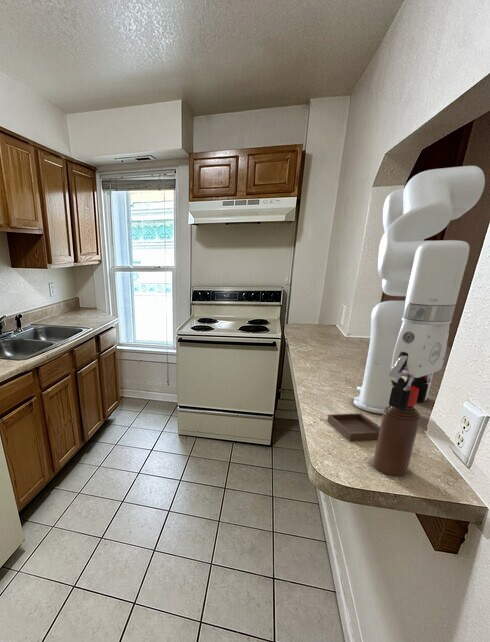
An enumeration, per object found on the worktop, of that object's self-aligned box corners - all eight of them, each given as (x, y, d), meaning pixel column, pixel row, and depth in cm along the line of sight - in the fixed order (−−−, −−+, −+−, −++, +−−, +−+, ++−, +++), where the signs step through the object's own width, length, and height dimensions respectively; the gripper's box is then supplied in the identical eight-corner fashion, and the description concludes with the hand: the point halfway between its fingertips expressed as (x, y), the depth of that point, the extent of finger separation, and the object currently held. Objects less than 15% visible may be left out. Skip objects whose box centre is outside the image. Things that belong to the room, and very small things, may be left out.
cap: (415, 401, 72) (419, 386, 71) (415, 408, 69) (419, 392, 68) (393, 397, 74) (396, 383, 73) (392, 404, 71) (395, 389, 70)
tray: (327, 421, 99) (328, 414, 99) (359, 419, 100) (360, 413, 99) (349, 440, 89) (350, 433, 88) (385, 438, 89) (387, 431, 88)
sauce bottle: (366, 460, 80) (381, 386, 74) (393, 459, 80) (410, 385, 74) (384, 477, 74) (402, 397, 68) (414, 475, 74) (434, 396, 68)
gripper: (424, 321, 58) (402, 421, 64) (473, 311, 65) (449, 401, 72) (379, 315, 64) (362, 407, 70) (429, 307, 72) (409, 390, 78)
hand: (406, 403), depth 71 cm, fingers open, 5 cm apart
